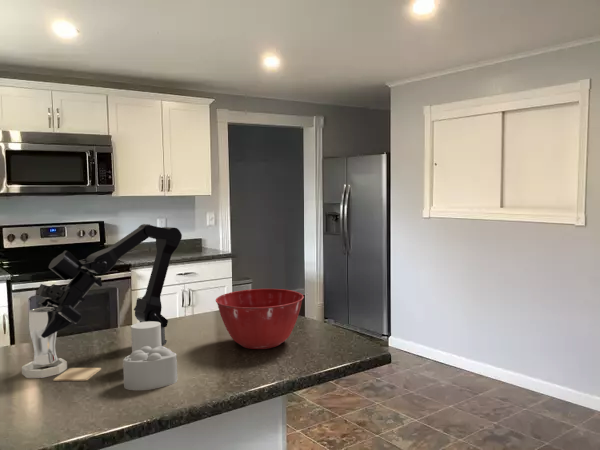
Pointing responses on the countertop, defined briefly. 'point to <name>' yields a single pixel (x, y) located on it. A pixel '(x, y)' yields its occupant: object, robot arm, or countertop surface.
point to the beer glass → (42, 346)
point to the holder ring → (33, 372)
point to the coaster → (77, 374)
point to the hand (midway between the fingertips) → (38, 334)
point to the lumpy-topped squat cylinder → (150, 368)
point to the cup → (146, 335)
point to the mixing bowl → (260, 316)
